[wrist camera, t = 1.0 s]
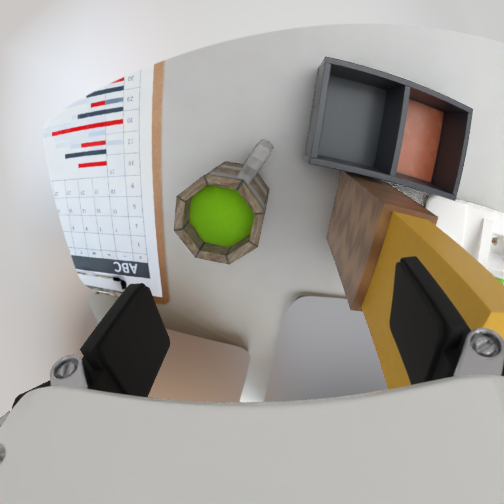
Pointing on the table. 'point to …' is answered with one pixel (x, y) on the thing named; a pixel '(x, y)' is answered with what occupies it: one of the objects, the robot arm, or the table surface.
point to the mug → (224, 209)
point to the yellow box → (446, 275)
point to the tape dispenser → (472, 229)
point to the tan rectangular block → (364, 229)
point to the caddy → (387, 128)
